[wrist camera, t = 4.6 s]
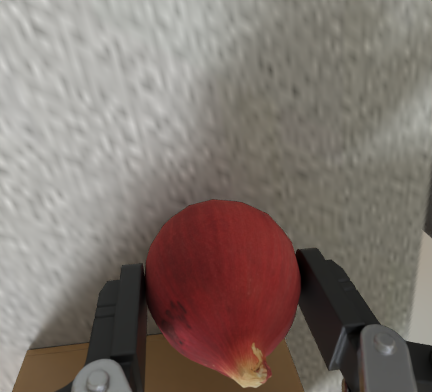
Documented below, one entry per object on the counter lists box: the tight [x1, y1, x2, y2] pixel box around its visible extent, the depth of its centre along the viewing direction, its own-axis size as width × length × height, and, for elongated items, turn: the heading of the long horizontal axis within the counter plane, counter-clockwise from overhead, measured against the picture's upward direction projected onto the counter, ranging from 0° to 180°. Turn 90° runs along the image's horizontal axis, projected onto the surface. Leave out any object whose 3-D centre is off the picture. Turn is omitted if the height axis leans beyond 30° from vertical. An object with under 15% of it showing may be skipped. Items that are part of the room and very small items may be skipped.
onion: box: [145, 199, 301, 388], centre depth 12 cm, size 6×6×8 cm
